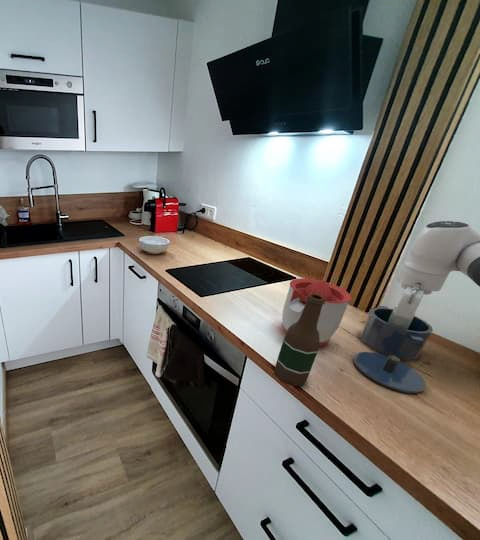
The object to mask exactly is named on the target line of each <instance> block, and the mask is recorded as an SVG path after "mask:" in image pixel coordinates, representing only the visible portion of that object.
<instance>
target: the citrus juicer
mask: <svg viewBox="0 0 480 540" xmlns="http://www.w3.org/2000/svg"><path fill="white" fill-rule="evenodd" d="M309 294H316V295H320V296H322V297H323V298H324V299H325V304H323V305H322V308H321V312H320V316H319V319H318V323H317V330H318V332H319V338H320V345H319V347H321V346H323V345H325V344H326V343H327V342H328V341H330V340H331V338H332V337H333V336H334V334H336V332H337V330H338V329H339V327H340V325H341V322H342V320H343V317H344V315H345V312H346V310H347V308H348V306H349V303H350V302H351V301H352V295H351V293H349V292H348V291H347V290H346V289H344V288H343V287H340V286H338V285H336V284H334V283H330V282H328V281H325V280H323V279H320V280H319V279H315V278H314V279H313V278H305V277H304V278H302V277H301V278H294V279H292V280H290V282H289V288H288V291H287V294H286V298H285V301H284V304H283V309H282V317H281V318H282V319H281V320H282V323H281V325H282V330H283V333H284V335H285V334H286V332H287V329H288V328H289V327H290V326H291V325H292V324H294V323H296V322H297V321H298V320H299V318H300V316H301V314H302V312H303V309H304V307H305V304H306V302H307V300H306V299H307V296H308V295H309Z"/></svg>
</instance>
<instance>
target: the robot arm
mask: <svg viewBox="0 0 480 540" xmlns="http://www.w3.org/2000/svg"><path fill="white" fill-rule="evenodd" d="M453 271H454V272H460V273H462V274H463V275H465V276H466V277H468V278H469V279H470V280H471V281H472V282H474V284H476V285H477V286H478V287H479V288H480V232H478V231H477V230H475V229H473V228H472V227H471V226H470V224H468V223H465V222H463V221H462V222H461V221H453V220H440V221H435V222H431V223H428V224H426V225H424V227H423V228H422V229H421V231H420V232H419V234H418V235H417V237H416V239H415V240H414V243H413V244H412V247H411V248H410V255H409V257H408V259H407V260H406V261H405V262H404V264H403V266H402V268H401V270H400V272H399V275H398V277H397V281H398V282H399V283H401V284H400V287H401V288H402V289H403V290H404V291H403V293H402V296H401V298H400V299H399V302H398V303H397V306H396V307H397V308H396V310H395V312H394V315H395V316H397V318H396V320H395V322H394V323H395V324H397V325H399V326H402V325H403V324H404V322H405V320H411V319H412V317H413V316H415V315H416V312H417V310H418V307H419V306H420V304H421V302H422V299H423V297H424V295H425V296H426V295H428V296H429V295H431V294H432V293H433V292H439V291H441V289H442V288H443V286H444V284H445V283H446V280H447V279H448V276H449V275H450V273H451V272H453ZM414 314H415V315H414Z"/></svg>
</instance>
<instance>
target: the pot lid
mask: <svg viewBox="0 0 480 540" xmlns="http://www.w3.org/2000/svg"><path fill="white" fill-rule="evenodd" d="M353 363H354V365H355V367H356V368H357V369H358V370H359V371H360V372H361V373H362V374H364V375H365V376H366V377H368V378H369V379H371V380H372V381H374V382H376V383H378V384H380V385H382V386H384V387H387V388H390V389H391V390H395V391H399V392H403V393H407V394H408V393H409V394H417V393H421V392H423V391H424V390H425V389H426V386H427V385H426V383H427V382H426V381H425V379H424V378H423V377H422V375H421V374H420V373H419V372H418V371H416V370H414V368H412V367H411V366H409V365H407V364H405V363H404V362H402V361H401V359H399V358H397V357H396V356H393V355H389V356H387V355H384V354H382V353H379V352H372V351H362V352H358V353H356V354H355V355H354V357H353Z"/></svg>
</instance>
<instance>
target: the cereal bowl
mask: <svg viewBox="0 0 480 540" xmlns="http://www.w3.org/2000/svg"><path fill="white" fill-rule="evenodd" d="M138 243H139V247H140V248H141V249H142V250H143V251H145V252H146V253H148V254H152V255H159V254H161V253H164V252H166V251H167V250H168V249H169V247H170V244H171V243H170V240H169V239H168V238H166V237H163V236H158V235H146V236H142V237H140V238H139V241H138Z"/></svg>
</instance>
